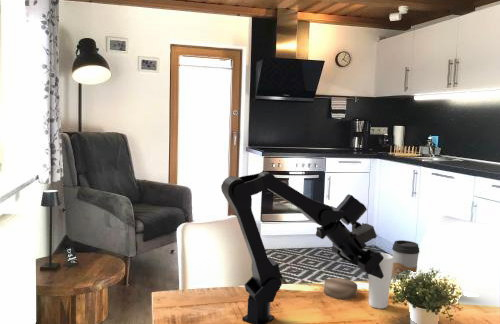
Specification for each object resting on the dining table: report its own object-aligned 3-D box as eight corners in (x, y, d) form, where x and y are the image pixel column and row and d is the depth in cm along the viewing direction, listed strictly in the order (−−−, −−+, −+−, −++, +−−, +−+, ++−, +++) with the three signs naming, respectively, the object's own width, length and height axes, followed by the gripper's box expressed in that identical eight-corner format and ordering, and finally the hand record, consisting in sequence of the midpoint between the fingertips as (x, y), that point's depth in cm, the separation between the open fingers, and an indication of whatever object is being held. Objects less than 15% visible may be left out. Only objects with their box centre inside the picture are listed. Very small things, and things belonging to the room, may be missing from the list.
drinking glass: (391, 311, 129) (394, 260, 127) (366, 309, 130) (369, 257, 129) (388, 302, 135) (392, 253, 134) (365, 299, 137) (368, 251, 135)
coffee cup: (384, 287, 147) (387, 242, 146) (398, 282, 153) (401, 238, 152) (408, 295, 141) (411, 248, 140) (421, 289, 147) (424, 244, 145)
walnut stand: (349, 302, 134) (350, 292, 134) (318, 294, 140) (319, 284, 140) (361, 292, 143) (361, 282, 142) (331, 284, 148) (332, 275, 148)
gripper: (379, 223, 119) (411, 261, 123) (342, 209, 136) (372, 242, 141) (351, 254, 117) (385, 292, 122) (318, 236, 135) (348, 269, 139)
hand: (372, 272), depth 131 cm, fingers open, 9 cm apart
